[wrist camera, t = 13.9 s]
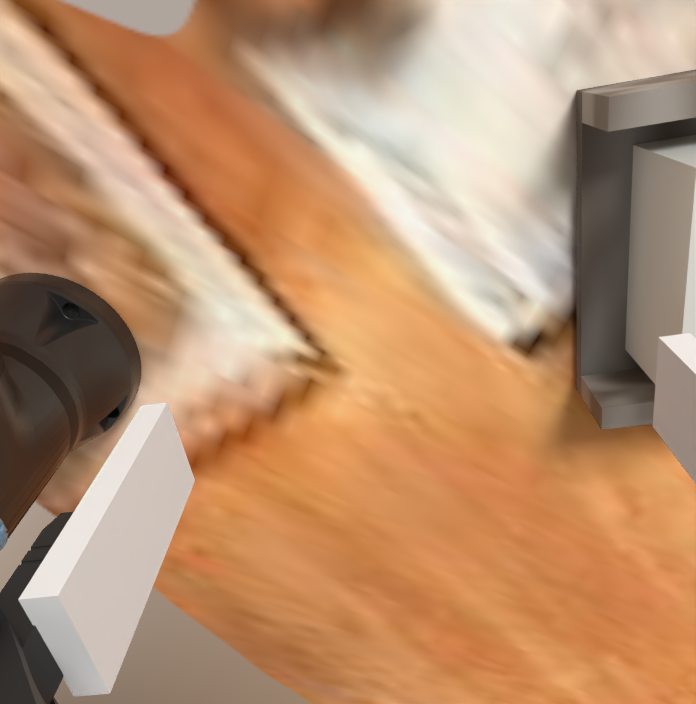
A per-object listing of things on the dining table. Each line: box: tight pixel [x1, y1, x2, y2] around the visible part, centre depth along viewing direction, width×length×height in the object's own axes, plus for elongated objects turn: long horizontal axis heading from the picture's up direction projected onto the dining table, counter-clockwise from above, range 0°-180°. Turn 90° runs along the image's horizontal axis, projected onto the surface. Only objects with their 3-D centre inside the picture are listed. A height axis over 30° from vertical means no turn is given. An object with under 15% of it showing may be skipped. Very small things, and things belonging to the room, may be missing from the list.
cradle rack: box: [577, 70, 696, 430], centre depth 43 cm, size 12×24×6 cm, turn 10°
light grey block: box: [625, 135, 696, 384], centre depth 41 cm, size 5×16×9 cm, turn 10°
